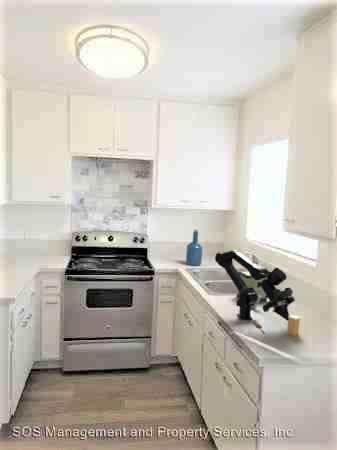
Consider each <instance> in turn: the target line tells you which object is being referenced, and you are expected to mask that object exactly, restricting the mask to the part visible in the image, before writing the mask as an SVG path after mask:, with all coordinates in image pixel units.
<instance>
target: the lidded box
mask: <svg viewBox="0 0 337 450" xmlns="http://www.w3.org/2000/svg"><path fill="white" fill-rule="evenodd" d="M300 321H301V316H298V315H295V314H292V315H290V314H289V316H288V321H287V330H286V331H287V332H286V334H287V335H290V336H293V337H295V336H298V335H299V330H300V329H299V328H300Z"/></svg>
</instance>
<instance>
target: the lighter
mask: <svg viewBox="0 0 337 450" xmlns="http://www.w3.org/2000/svg"><path fill="white" fill-rule="evenodd" d="M261 297H262V296H260V295H259V296H258V300H257V302H256V303H255V305H254V306H251V310H252V309H253V310H255V309H256V307H257V306H256V305H257V304H258V303H259V302H260V301H259V300H260V299H261Z"/></svg>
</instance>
